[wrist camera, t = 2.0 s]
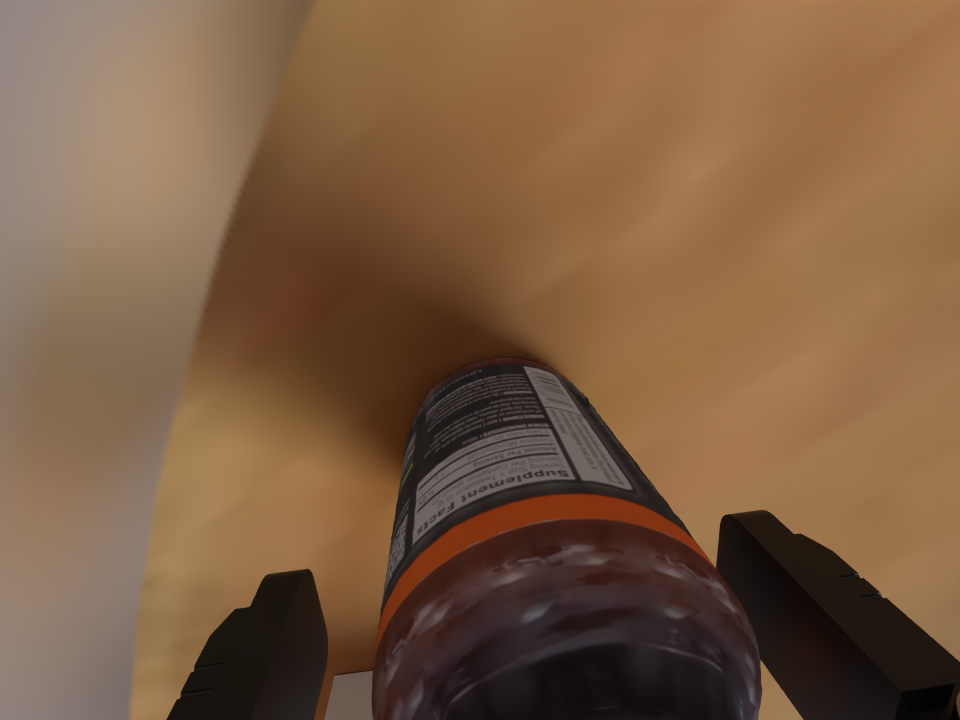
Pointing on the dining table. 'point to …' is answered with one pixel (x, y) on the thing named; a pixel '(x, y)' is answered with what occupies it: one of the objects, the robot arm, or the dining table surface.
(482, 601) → the supplement bottle
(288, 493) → the dining table surface
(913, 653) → the robot arm
